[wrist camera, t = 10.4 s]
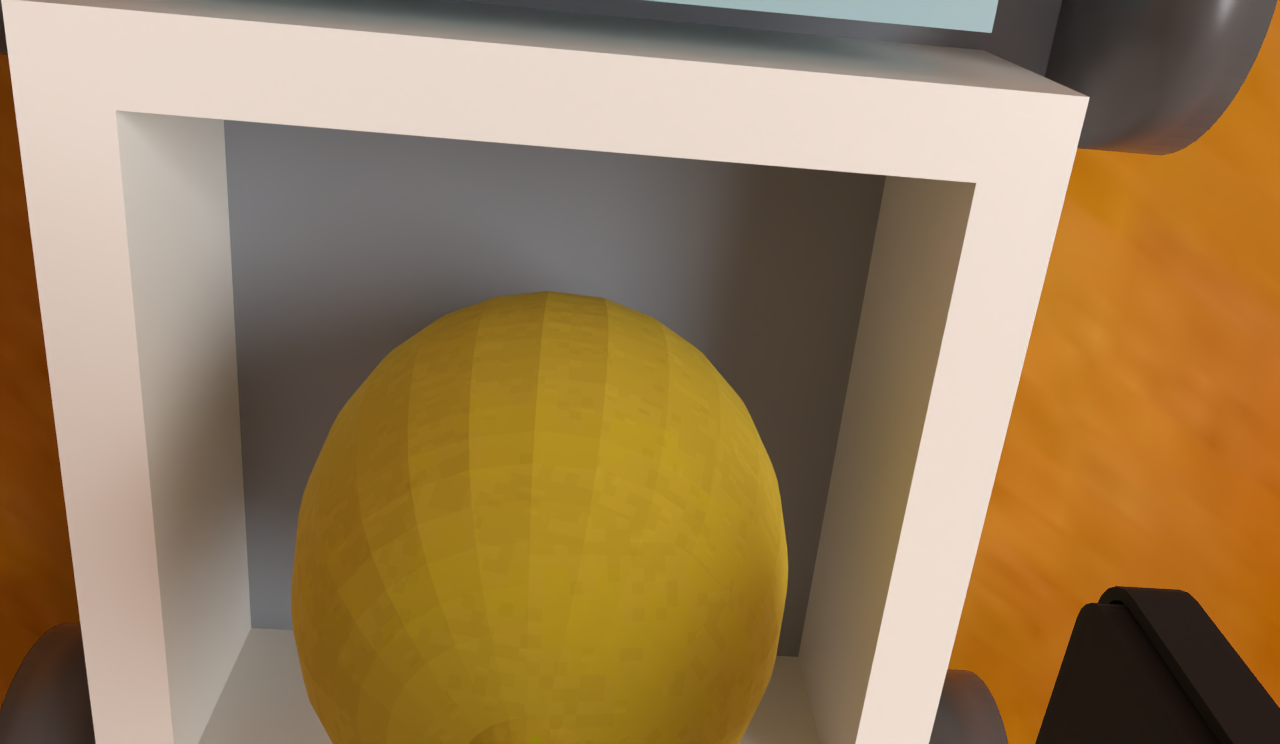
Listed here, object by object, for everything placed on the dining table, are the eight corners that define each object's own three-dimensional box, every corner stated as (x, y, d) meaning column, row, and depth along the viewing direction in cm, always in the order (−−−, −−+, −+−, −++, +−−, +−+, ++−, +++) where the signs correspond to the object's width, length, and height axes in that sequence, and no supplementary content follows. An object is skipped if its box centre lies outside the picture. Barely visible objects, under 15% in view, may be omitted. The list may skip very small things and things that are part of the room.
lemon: (351, 517, 18) (174, 989, 10) (395, 176, 15) (208, 470, 8) (695, 573, 18) (760, 1055, 11) (787, 254, 16) (942, 591, 9)
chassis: (-35, -403, 14) (-329, -535, 9) (1177, -265, 15) (1420, -324, 10) (112, 799, 21) (-12, 1035, 17) (905, 832, 22) (979, 1062, 18)
